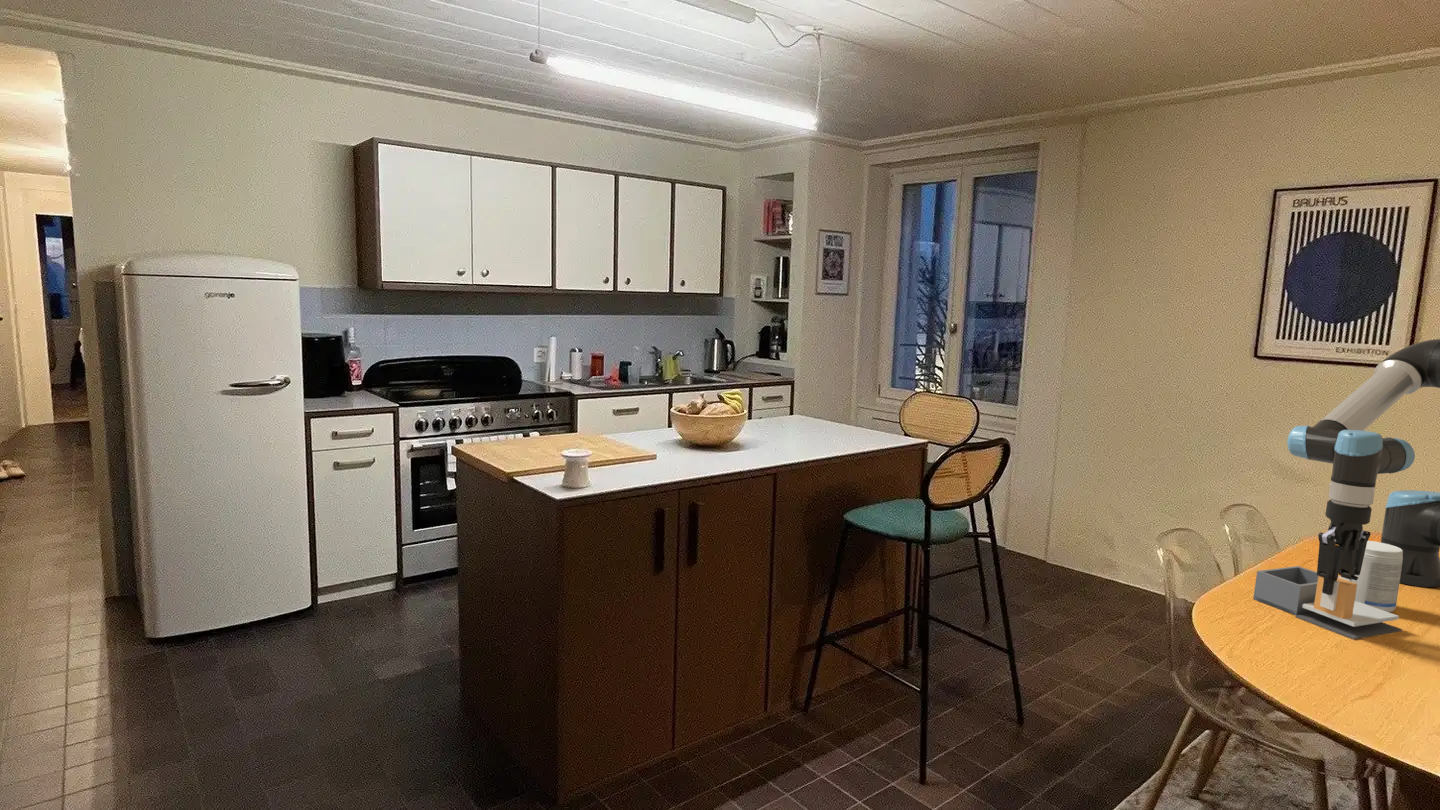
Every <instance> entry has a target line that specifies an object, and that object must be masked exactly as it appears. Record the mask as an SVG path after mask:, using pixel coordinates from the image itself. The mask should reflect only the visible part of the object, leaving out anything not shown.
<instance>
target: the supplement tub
mask: <svg viewBox="0 0 1440 810" xmlns="http://www.w3.org/2000/svg"><path fill="white" fill-rule="evenodd" d="M1380 542H1381V541H1380ZM1380 542H1379V541H1373V540H1368V541H1367V545H1366V549H1365V554H1364V558H1363V563H1362V568H1361V572H1360V575H1355V576H1356V577H1358V579H1357V580H1353V579H1351V582H1353V583H1356V584H1357V589H1356V595H1355V601H1357V602H1360V603H1363V604H1366V605H1369V606H1372V607H1375V608H1377V609H1380V610H1383V611H1386V612H1389V613H1393V612H1394V611H1396V608H1397V603H1398V602H1397V601H1398V596H1399V588H1400V583H1399V582H1400V576H1401V569H1402V561H1403V556H1402V555H1403V550H1402V549H1400V548H1398V547H1396V546H1393V545H1389V544H1385V543H1380Z"/></svg>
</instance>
